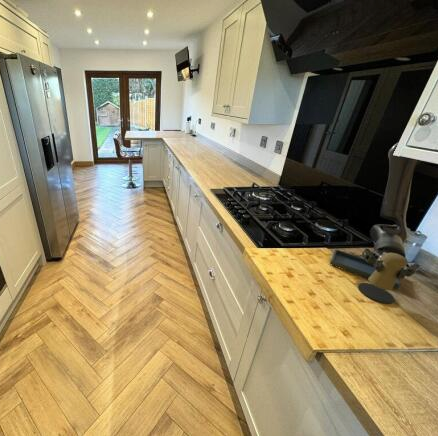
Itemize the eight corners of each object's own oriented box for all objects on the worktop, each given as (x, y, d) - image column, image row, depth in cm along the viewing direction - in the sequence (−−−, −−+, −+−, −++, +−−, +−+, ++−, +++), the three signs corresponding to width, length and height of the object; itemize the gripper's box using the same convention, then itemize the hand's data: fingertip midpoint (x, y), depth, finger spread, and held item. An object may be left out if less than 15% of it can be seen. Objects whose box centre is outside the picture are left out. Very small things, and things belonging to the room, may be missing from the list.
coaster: (393, 293, 78) (393, 292, 78) (394, 308, 72) (395, 307, 72) (358, 280, 83) (359, 279, 83) (356, 293, 77) (357, 292, 77)
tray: (395, 274, 87) (398, 269, 86) (397, 289, 80) (400, 284, 79) (333, 252, 99) (335, 248, 98) (329, 264, 91) (331, 260, 90)
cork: (371, 274, 80) (387, 247, 75) (395, 285, 75) (414, 257, 70) (365, 281, 77) (381, 253, 72) (389, 292, 72) (409, 264, 67)
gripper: (367, 233, 85) (365, 253, 74) (423, 249, 77) (430, 274, 65) (358, 250, 89) (354, 272, 77) (411, 267, 80) (416, 294, 69)
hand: (389, 273), depth 71 cm, fingers closed on cork, 4 cm apart
